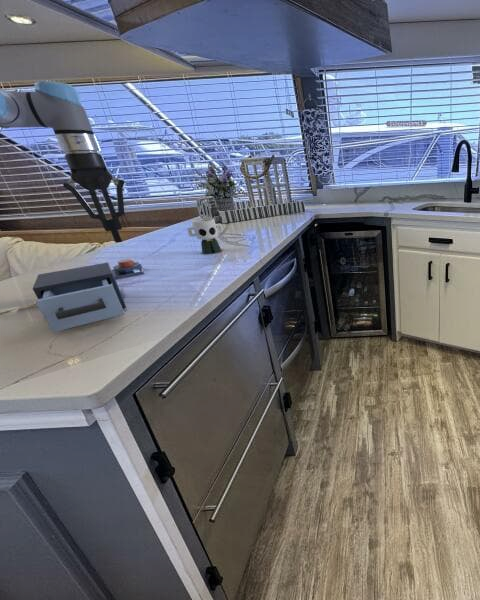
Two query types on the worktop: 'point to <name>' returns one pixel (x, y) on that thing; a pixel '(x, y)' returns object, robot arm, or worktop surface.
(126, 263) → the button
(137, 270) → the panel
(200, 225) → the character mug
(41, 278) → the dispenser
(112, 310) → the drawer
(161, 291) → the worktop surface
